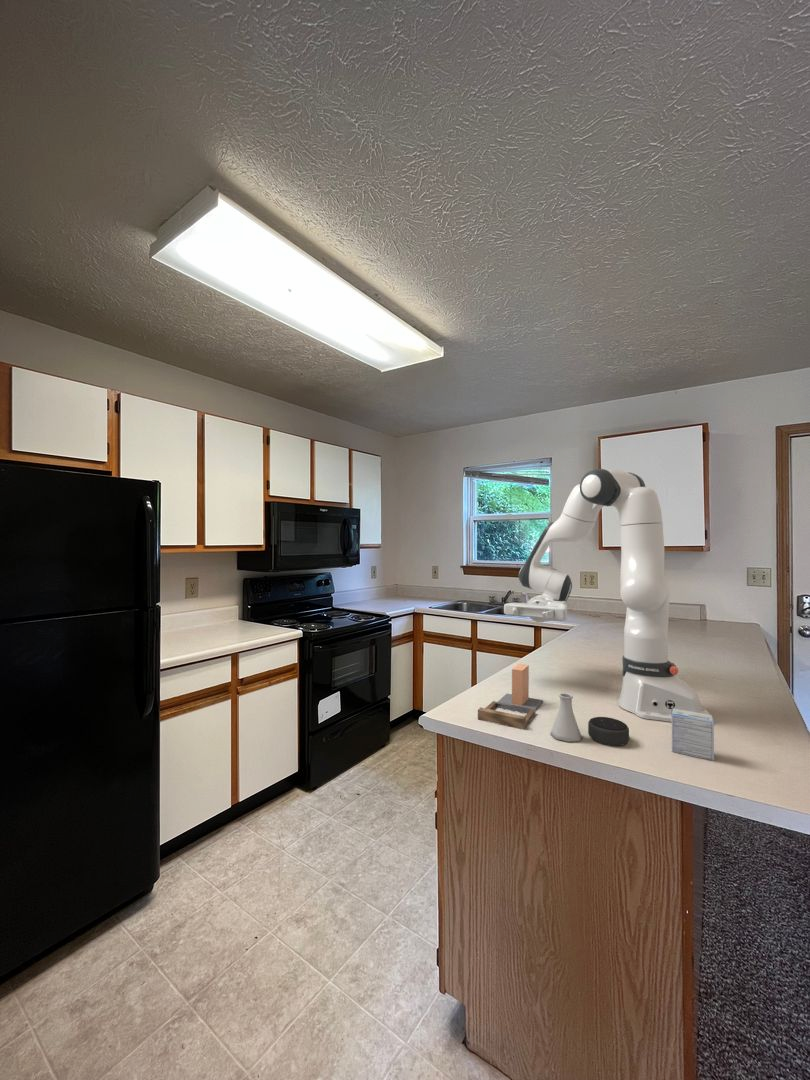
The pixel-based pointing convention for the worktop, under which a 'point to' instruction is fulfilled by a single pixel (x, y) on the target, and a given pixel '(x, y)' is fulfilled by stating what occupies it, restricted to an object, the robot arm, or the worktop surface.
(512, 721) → the wooden square frame
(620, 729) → the smart speaker
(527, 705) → the mat
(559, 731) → the flask
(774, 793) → the worktop surface
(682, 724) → the medicine box
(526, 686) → the orange rectangular block
